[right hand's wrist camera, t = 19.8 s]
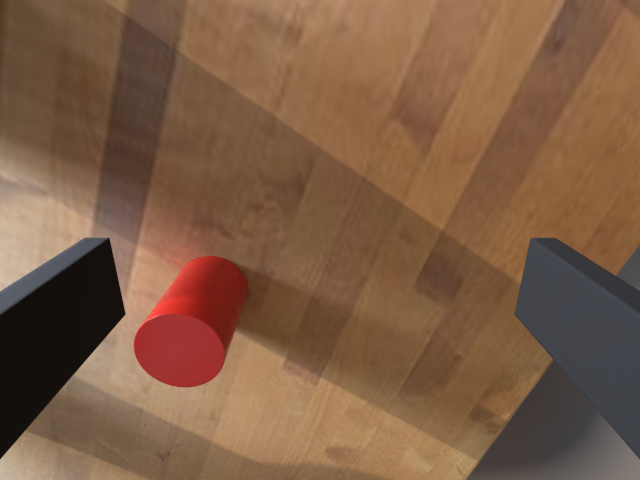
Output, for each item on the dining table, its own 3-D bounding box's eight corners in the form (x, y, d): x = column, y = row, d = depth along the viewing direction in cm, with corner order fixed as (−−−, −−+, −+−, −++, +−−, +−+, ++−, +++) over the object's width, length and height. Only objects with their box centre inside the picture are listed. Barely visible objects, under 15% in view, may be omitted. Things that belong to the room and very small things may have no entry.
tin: (262, 288, 43) (243, 353, 33) (217, 328, 45) (186, 401, 35) (209, 242, 41) (171, 296, 31) (164, 286, 43) (115, 350, 33)
